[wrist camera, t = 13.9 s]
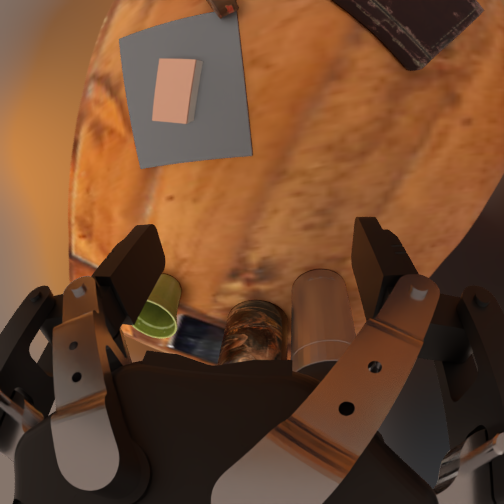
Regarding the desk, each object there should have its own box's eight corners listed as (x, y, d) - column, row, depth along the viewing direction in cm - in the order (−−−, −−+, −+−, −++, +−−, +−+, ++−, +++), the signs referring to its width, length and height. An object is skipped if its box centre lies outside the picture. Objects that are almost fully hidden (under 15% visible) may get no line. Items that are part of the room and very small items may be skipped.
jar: (299, 330, 52) (299, 399, 40) (249, 346, 56) (239, 409, 44) (268, 291, 47) (260, 365, 35) (214, 312, 52) (196, 380, 39)
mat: (252, 154, 34) (252, 155, 34) (142, 167, 37) (140, 169, 36) (236, 9, 23) (235, 8, 23) (121, 39, 26) (118, 39, 25)
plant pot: (152, 256, 46) (131, 289, 38) (199, 283, 48) (185, 320, 41) (137, 287, 50) (118, 319, 43) (179, 311, 53) (165, 345, 46)
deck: (202, 61, 27) (195, 59, 25) (193, 120, 32) (186, 124, 29) (169, 59, 27) (159, 58, 25) (161, 117, 32) (151, 120, 29)
